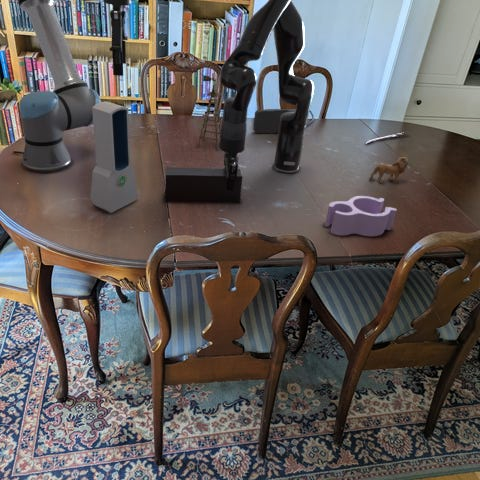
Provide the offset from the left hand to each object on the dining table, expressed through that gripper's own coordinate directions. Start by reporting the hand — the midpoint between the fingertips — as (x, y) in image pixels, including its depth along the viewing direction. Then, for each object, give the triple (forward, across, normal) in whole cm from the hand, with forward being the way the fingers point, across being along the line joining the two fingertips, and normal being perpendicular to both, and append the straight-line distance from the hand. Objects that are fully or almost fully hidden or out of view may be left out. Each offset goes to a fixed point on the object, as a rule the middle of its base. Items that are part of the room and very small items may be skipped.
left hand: (119, 69), depth 137 cm
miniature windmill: (+35, +32, -32) cm, 58 cm away
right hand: (+30, -14, -33) cm, 47 cm away
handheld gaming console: (+35, +49, -64) cm, 88 cm away
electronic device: (+35, -18, +2) cm, 39 cm away
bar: (+35, -14, -25) cm, 45 cm away
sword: (+35, +45, -115) cm, 128 cm away
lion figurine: (+34, +2, -95) cm, 101 cm away
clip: (+34, -31, -71) cm, 85 cm away
